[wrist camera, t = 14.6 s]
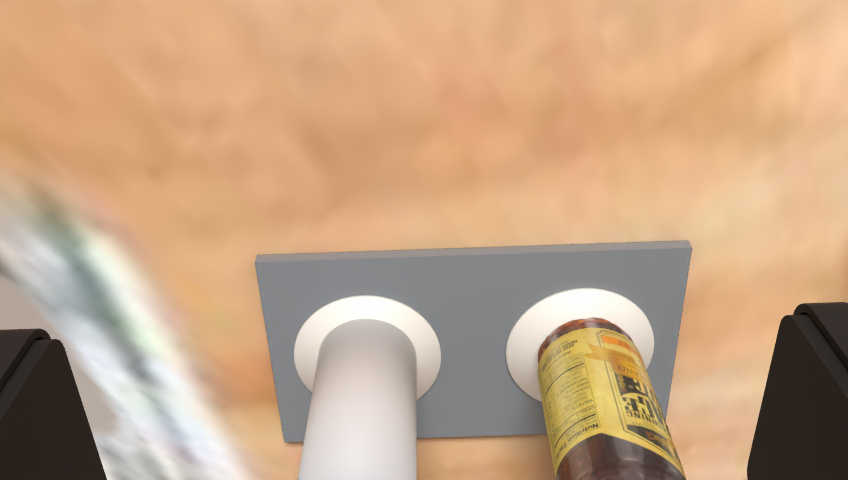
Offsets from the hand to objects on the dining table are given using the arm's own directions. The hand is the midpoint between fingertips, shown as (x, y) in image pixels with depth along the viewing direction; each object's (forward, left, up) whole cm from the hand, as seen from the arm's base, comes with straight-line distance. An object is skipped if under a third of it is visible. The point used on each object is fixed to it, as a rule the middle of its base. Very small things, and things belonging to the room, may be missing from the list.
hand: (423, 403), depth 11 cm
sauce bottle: (-9, +24, -31) cm, 41 cm away
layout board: (-3, +24, -32) cm, 40 cm away
